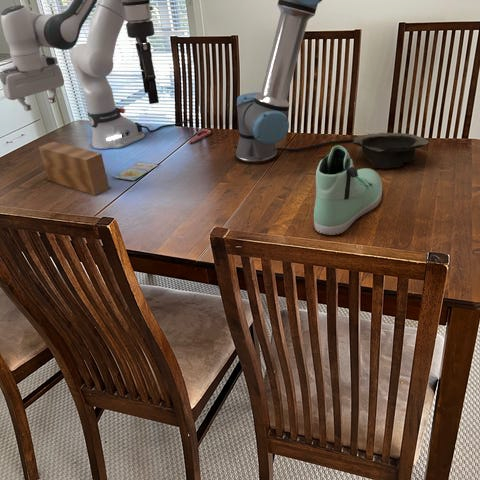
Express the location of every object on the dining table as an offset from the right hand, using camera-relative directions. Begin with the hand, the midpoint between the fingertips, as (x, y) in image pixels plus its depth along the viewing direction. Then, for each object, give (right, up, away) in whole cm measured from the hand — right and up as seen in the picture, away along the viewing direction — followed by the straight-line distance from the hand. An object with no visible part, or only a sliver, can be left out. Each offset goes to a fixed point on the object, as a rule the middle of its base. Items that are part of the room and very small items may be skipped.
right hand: (151, 97), depth 145 cm
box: (-30, -23, +23) cm, 45 cm away
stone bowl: (+78, -15, +22) cm, 83 cm away
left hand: (-39, +1, +14) cm, 42 cm away
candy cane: (+10, -1, +55) cm, 56 cm away
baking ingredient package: (-11, -18, +29) cm, 36 cm away
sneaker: (+58, -34, -6) cm, 68 cm away
